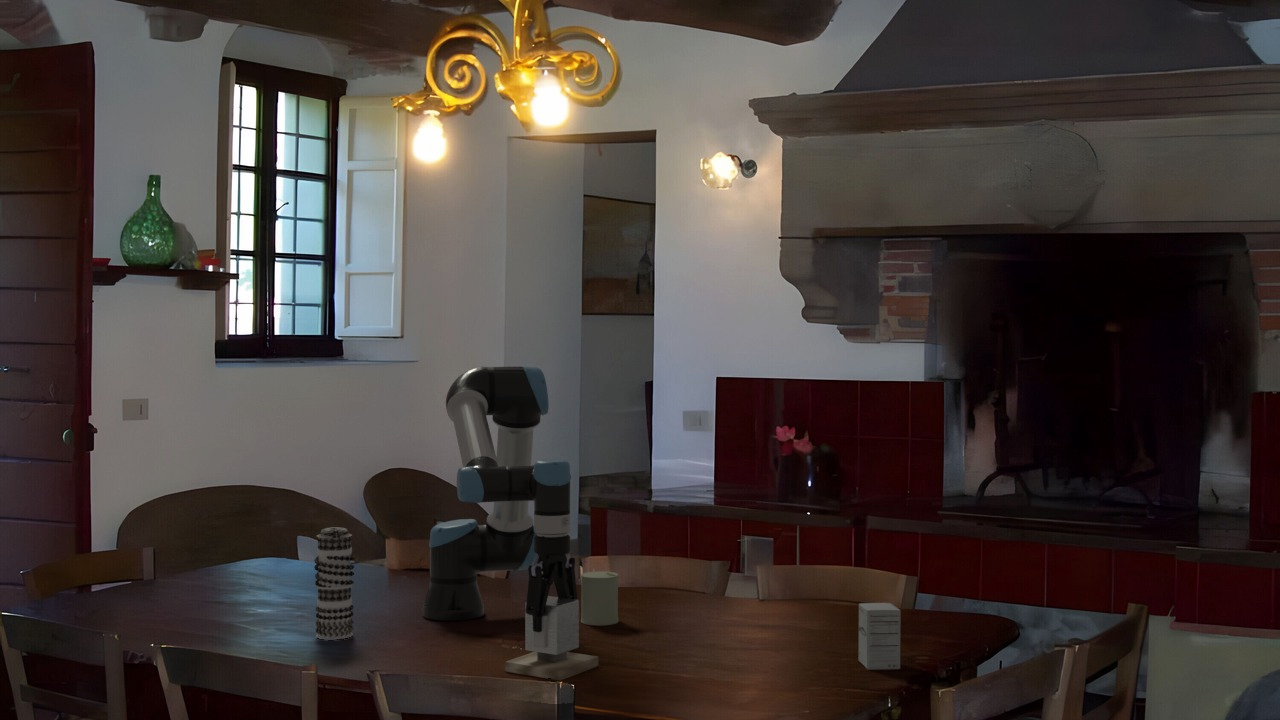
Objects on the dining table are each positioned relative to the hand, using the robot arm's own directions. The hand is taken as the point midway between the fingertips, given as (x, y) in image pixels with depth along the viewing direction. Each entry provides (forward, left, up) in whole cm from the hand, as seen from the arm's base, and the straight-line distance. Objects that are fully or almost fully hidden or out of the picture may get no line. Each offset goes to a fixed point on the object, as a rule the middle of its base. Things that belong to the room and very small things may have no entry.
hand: (552, 642), depth 279 cm
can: (-17, +44, -6) cm, 48 cm away
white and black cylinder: (-60, -2, -6) cm, 60 cm away
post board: (0, 0, -5) cm, 5 cm away
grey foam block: (0, 0, -1) cm, 1 cm away
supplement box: (+57, +39, -6) cm, 69 cm away
